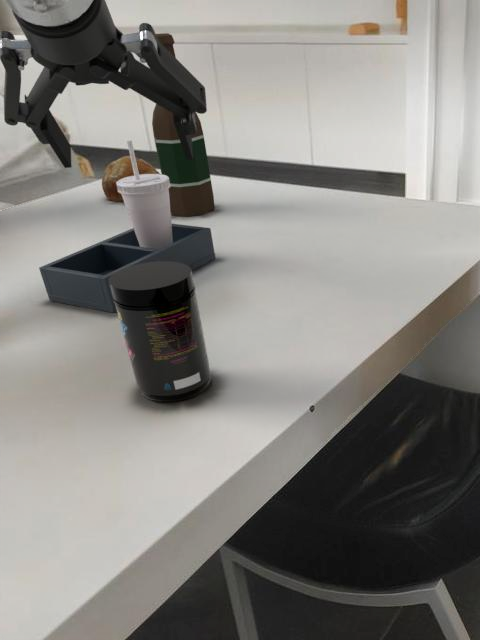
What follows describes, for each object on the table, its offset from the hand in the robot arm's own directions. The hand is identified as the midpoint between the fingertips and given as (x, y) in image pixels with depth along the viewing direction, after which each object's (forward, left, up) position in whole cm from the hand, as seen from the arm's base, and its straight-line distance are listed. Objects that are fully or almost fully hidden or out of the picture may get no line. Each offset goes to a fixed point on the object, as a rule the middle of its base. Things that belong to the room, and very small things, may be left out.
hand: (128, 153), depth 78 cm
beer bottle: (-15, +27, -15) cm, 34 cm away
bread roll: (-31, +32, -15) cm, 47 cm away
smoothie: (-2, +3, -14) cm, 14 cm away
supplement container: (+21, -22, -15) cm, 34 cm away
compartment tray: (-2, -1, -14) cm, 15 cm away
